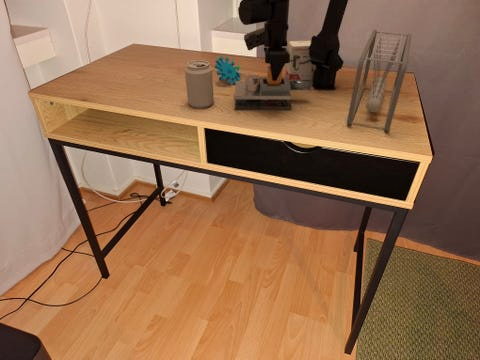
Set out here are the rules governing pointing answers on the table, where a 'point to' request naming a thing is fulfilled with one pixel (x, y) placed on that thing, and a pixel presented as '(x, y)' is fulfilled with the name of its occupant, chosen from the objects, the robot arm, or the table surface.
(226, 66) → the gear
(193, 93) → the can
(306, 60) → the ink box
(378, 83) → the newton's cradle
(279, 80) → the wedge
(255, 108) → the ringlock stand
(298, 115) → the table surface
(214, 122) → the table surface
